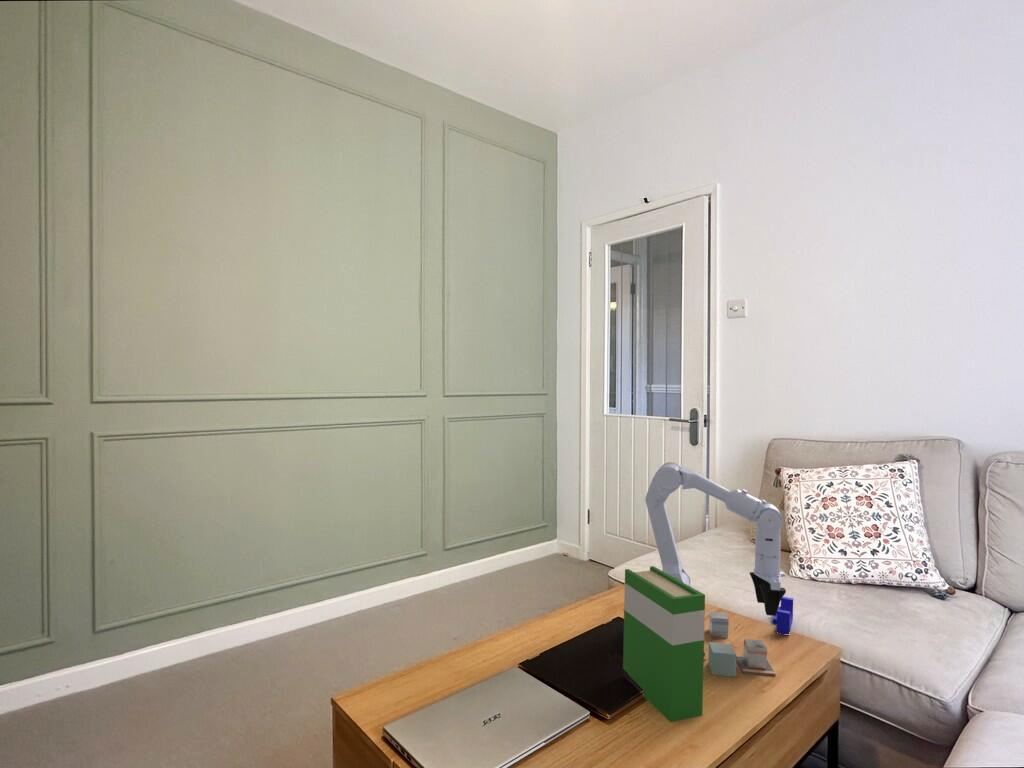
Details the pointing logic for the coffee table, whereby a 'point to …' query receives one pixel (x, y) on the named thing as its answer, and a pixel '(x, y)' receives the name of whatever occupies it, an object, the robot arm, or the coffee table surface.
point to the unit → (722, 659)
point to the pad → (755, 671)
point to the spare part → (755, 654)
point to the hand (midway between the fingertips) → (766, 608)
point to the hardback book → (665, 641)
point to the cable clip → (784, 616)
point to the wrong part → (718, 624)
